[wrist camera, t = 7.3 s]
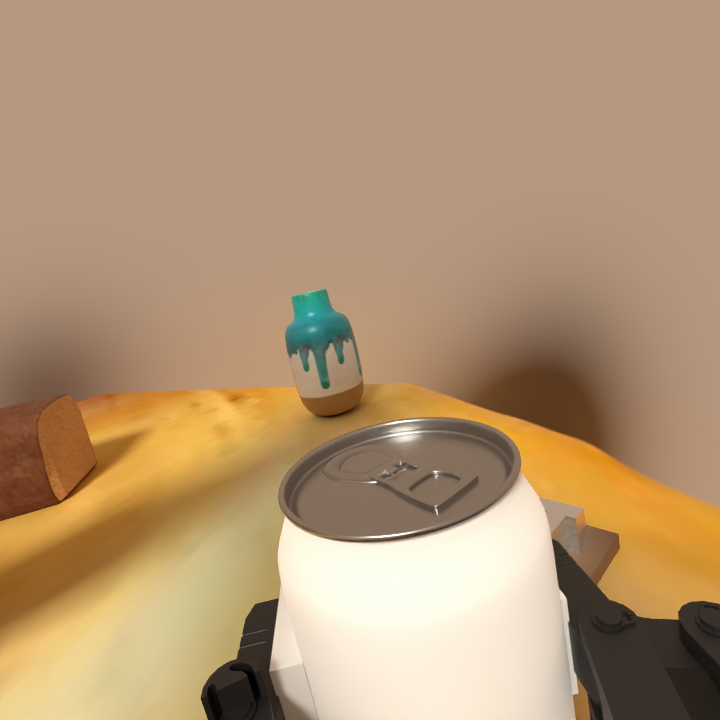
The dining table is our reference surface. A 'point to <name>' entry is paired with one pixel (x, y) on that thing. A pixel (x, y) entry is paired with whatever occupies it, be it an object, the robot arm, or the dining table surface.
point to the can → (423, 577)
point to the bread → (41, 454)
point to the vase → (323, 355)
